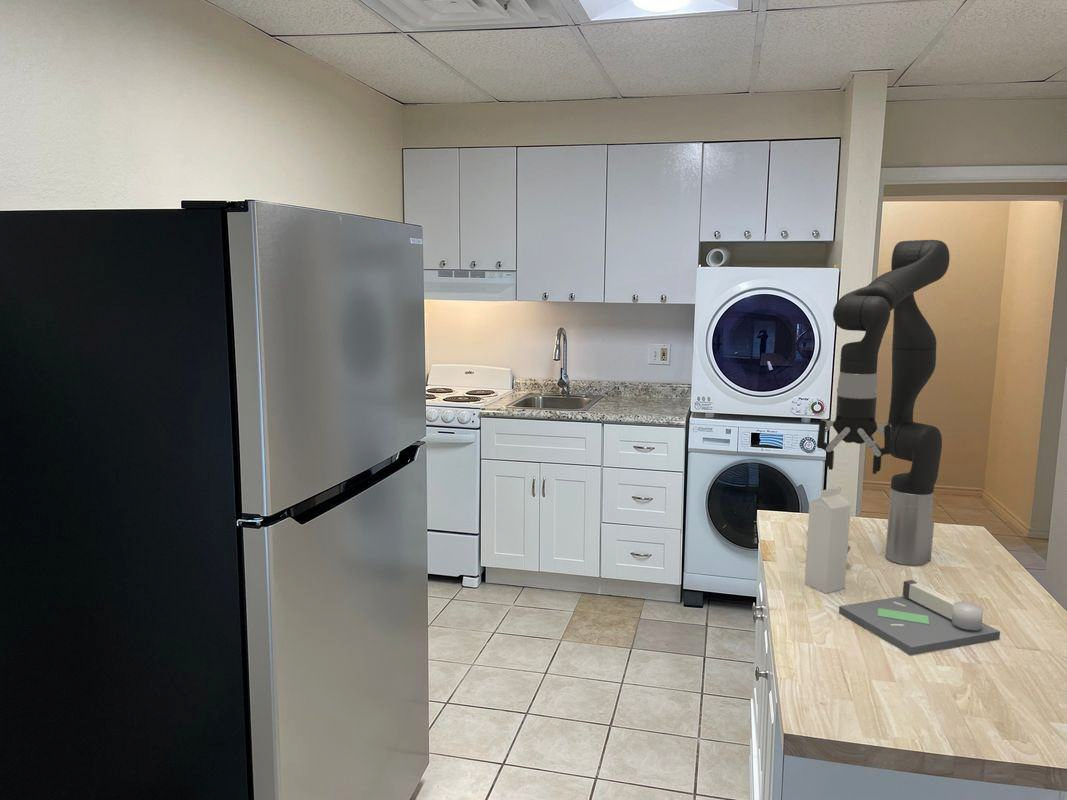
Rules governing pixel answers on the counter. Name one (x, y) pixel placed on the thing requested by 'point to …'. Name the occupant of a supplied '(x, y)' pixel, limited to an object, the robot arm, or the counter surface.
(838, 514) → the milk
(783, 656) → the counter surface
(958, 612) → the tuning lever
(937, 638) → the board
